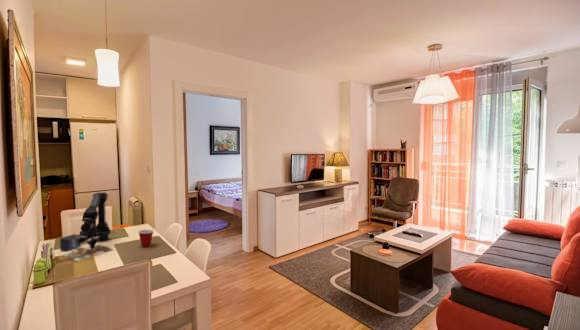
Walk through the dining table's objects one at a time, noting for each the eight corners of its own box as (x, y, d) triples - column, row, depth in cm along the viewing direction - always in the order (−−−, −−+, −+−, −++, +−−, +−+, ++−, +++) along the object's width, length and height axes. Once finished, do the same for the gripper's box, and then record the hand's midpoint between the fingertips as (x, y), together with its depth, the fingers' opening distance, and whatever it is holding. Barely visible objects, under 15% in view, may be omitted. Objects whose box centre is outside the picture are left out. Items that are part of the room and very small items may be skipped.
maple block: (81, 252, 195) (81, 247, 195) (86, 254, 192) (86, 248, 192) (71, 255, 190) (71, 249, 190) (76, 257, 187) (75, 251, 187)
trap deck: (99, 246, 212) (99, 243, 211) (114, 251, 202) (114, 248, 201) (63, 256, 192) (63, 252, 191) (77, 263, 182) (77, 259, 181)
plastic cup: (157, 245, 215) (157, 230, 214) (143, 249, 206) (143, 233, 205) (149, 242, 221) (148, 227, 220) (135, 246, 212) (135, 231, 211)
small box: (67, 253, 197) (66, 239, 197) (60, 252, 199) (59, 238, 198) (81, 248, 208) (80, 234, 207) (74, 247, 209) (73, 234, 208)
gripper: (99, 222, 209) (100, 243, 210) (70, 229, 193) (71, 251, 194) (107, 225, 203) (108, 246, 205) (78, 231, 187) (79, 254, 188)
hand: (92, 249), depth 198 cm, fingers closed
